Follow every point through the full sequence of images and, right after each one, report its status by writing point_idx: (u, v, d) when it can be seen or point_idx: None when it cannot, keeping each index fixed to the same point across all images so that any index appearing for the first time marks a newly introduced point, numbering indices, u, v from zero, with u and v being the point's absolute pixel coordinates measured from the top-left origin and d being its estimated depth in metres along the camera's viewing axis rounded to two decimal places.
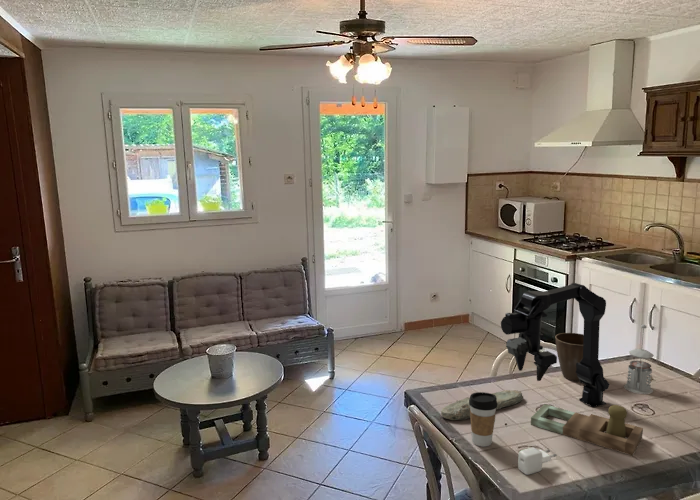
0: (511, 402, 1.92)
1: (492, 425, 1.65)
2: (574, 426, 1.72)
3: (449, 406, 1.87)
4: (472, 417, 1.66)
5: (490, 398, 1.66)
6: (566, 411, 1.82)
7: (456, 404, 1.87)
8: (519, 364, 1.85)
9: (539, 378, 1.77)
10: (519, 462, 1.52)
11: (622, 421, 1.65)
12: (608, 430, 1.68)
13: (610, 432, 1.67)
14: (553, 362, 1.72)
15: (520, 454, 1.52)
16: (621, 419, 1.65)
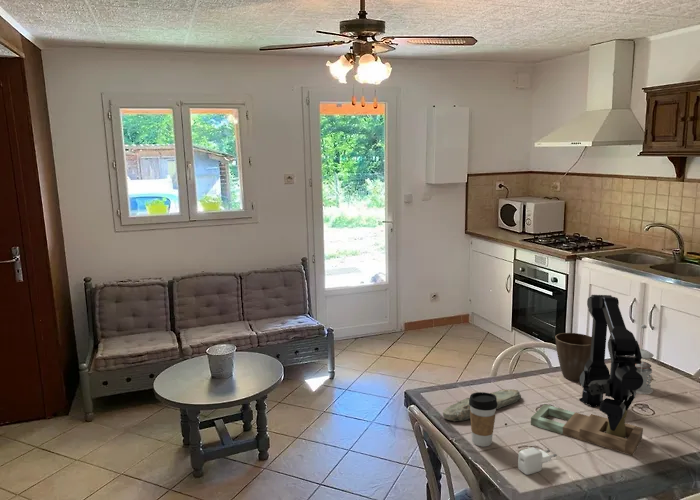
0: (510, 401, 1.92)
1: (492, 425, 1.65)
2: (574, 426, 1.72)
3: (450, 407, 1.86)
4: (472, 417, 1.66)
5: (490, 398, 1.66)
6: (566, 411, 1.82)
7: (457, 405, 1.86)
8: None
9: (611, 427, 1.64)
10: (519, 462, 1.52)
11: (622, 421, 1.65)
12: (608, 430, 1.68)
13: (610, 432, 1.67)
14: (615, 413, 1.58)
15: (520, 454, 1.52)
16: (621, 419, 1.65)
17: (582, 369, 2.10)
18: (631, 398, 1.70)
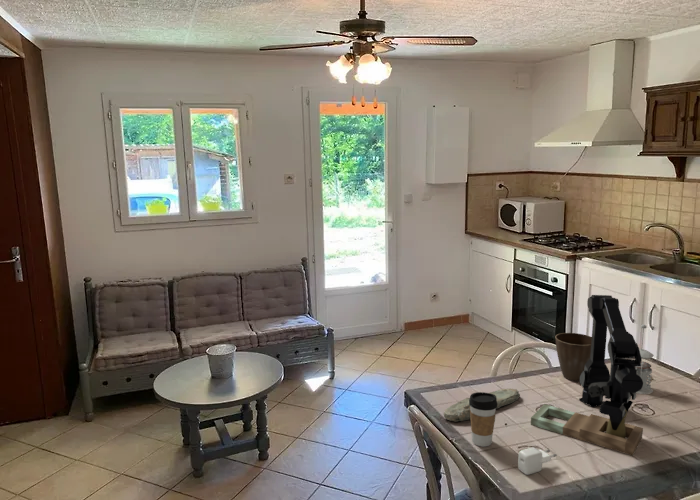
0: (509, 400, 1.93)
1: (492, 425, 1.65)
2: (574, 426, 1.72)
3: (451, 407, 1.85)
4: (472, 417, 1.66)
5: (490, 398, 1.66)
6: (566, 411, 1.82)
7: (458, 406, 1.86)
8: None
9: (613, 427, 1.65)
10: (519, 462, 1.52)
11: (622, 421, 1.65)
12: (608, 430, 1.68)
13: (610, 432, 1.67)
14: (615, 415, 1.58)
15: (520, 454, 1.52)
16: None
17: (582, 369, 2.10)
18: (629, 403, 1.68)
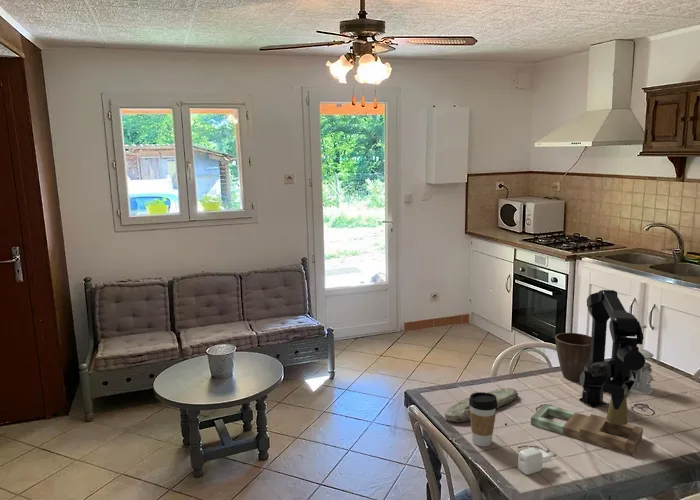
0: (508, 400, 1.93)
1: (492, 425, 1.65)
2: (574, 426, 1.72)
3: (451, 408, 1.85)
4: (472, 417, 1.66)
5: (490, 398, 1.66)
6: (566, 411, 1.82)
7: (458, 406, 1.86)
8: None
9: (615, 406, 1.64)
10: (519, 462, 1.52)
11: (624, 400, 1.64)
12: (610, 410, 1.66)
13: (612, 411, 1.66)
14: (616, 393, 1.57)
15: (520, 454, 1.52)
16: None
17: (582, 369, 2.10)
18: (631, 382, 1.67)
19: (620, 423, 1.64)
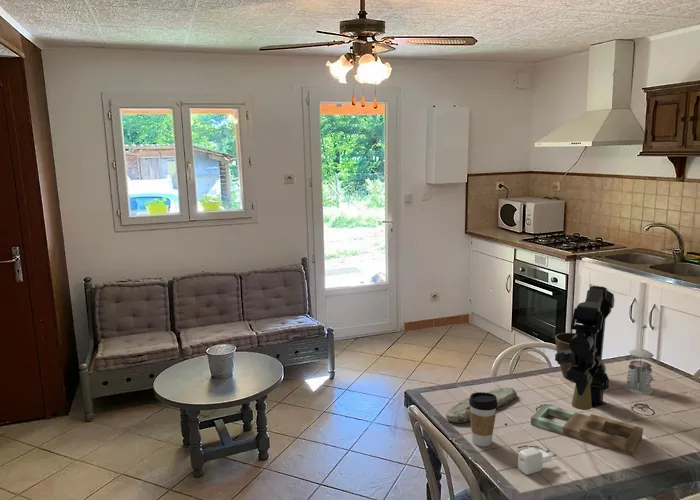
0: (508, 399, 1.94)
1: (492, 425, 1.65)
2: (574, 426, 1.72)
3: (452, 409, 1.84)
4: (472, 417, 1.66)
5: (490, 398, 1.66)
6: (566, 411, 1.82)
7: (459, 407, 1.85)
8: None
9: (579, 392, 1.70)
10: (519, 462, 1.52)
11: (587, 386, 1.70)
12: (574, 396, 1.73)
13: (576, 397, 1.72)
14: (580, 380, 1.63)
15: (520, 454, 1.52)
16: None
17: None
18: (594, 369, 1.73)
19: (584, 408, 1.71)
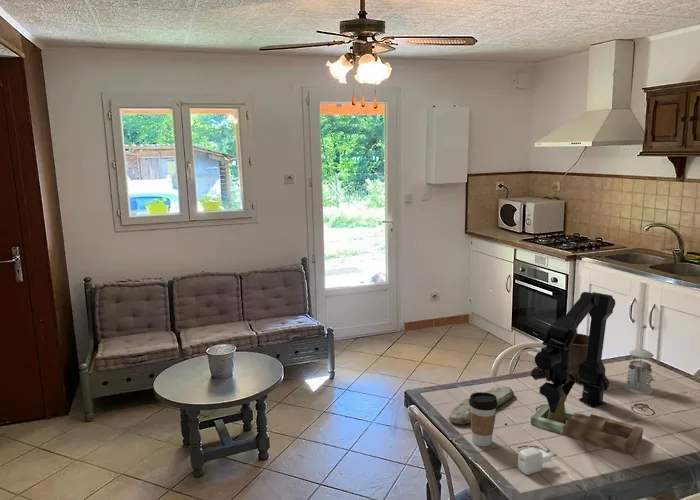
0: (506, 398, 1.94)
1: (492, 425, 1.65)
2: (574, 426, 1.72)
3: (455, 410, 1.83)
4: (472, 417, 1.66)
5: (490, 398, 1.66)
6: (566, 411, 1.82)
7: (461, 408, 1.85)
8: None
9: (551, 410, 1.75)
10: (519, 462, 1.52)
11: (561, 404, 1.77)
12: (549, 413, 1.79)
13: (551, 415, 1.78)
14: (552, 395, 1.69)
15: (520, 454, 1.52)
16: (560, 403, 1.76)
17: None
18: (571, 383, 1.81)
19: None
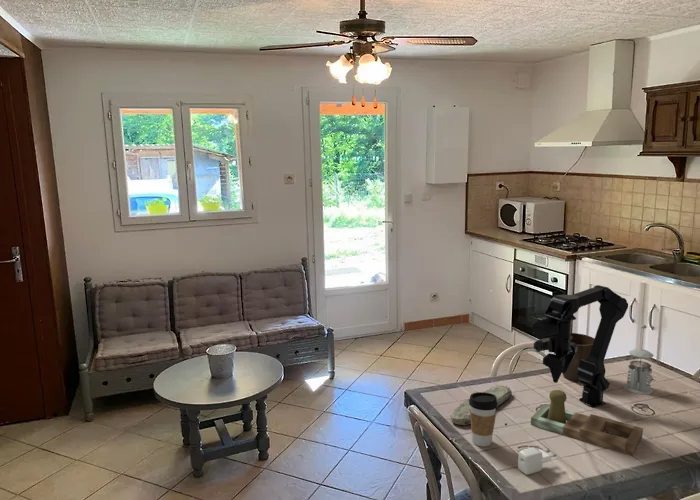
0: (505, 398, 1.95)
1: (492, 425, 1.65)
2: (574, 426, 1.72)
3: (456, 411, 1.83)
4: (472, 417, 1.66)
5: (490, 398, 1.66)
6: (566, 411, 1.82)
7: (462, 409, 1.84)
8: None
9: (554, 380, 1.81)
10: (519, 462, 1.52)
11: (561, 404, 1.77)
12: (549, 413, 1.79)
13: (551, 415, 1.78)
14: (555, 365, 1.75)
15: (520, 454, 1.52)
16: (560, 403, 1.76)
17: None
18: (572, 354, 1.87)
19: None
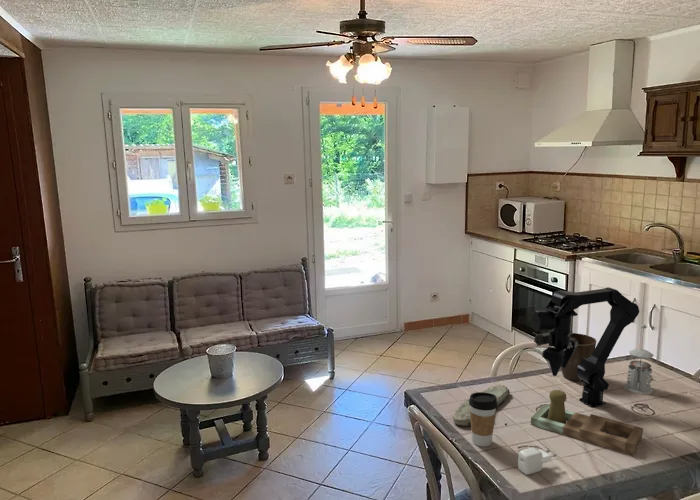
0: (504, 397, 1.95)
1: (492, 425, 1.65)
2: (574, 426, 1.72)
3: (458, 412, 1.82)
4: (472, 417, 1.66)
5: (490, 398, 1.66)
6: (566, 411, 1.82)
7: (464, 409, 1.84)
8: None
9: (553, 373, 1.85)
10: (519, 462, 1.52)
11: (561, 404, 1.77)
12: (549, 413, 1.79)
13: (551, 415, 1.78)
14: (554, 358, 1.80)
15: (520, 454, 1.52)
16: (560, 403, 1.76)
17: None
18: (573, 349, 1.91)
19: None
